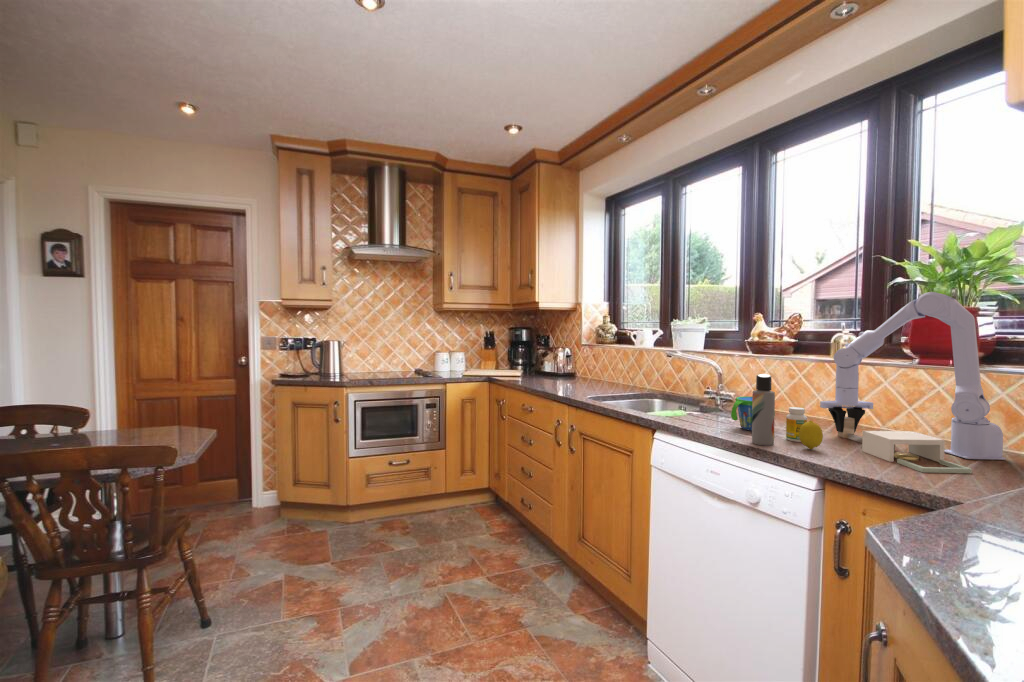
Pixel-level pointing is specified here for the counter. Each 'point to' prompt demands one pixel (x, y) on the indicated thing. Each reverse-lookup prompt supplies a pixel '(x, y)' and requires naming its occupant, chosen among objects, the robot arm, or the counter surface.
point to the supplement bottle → (794, 423)
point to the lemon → (811, 434)
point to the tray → (954, 467)
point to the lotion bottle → (763, 411)
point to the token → (906, 456)
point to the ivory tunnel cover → (918, 443)
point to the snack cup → (743, 412)
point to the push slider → (850, 430)
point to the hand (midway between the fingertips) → (845, 431)
